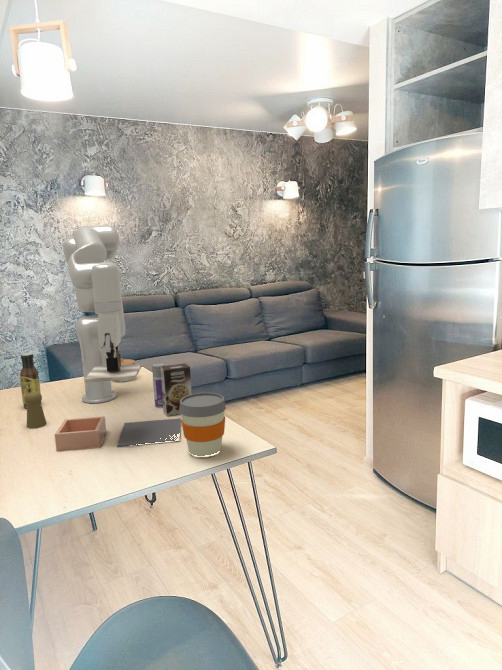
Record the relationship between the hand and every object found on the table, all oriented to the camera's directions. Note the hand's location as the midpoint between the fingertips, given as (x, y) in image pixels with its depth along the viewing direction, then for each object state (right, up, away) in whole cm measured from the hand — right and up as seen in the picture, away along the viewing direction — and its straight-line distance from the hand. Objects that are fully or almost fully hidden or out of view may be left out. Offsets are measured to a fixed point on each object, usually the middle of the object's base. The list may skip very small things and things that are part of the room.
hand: (114, 368), depth 144 cm
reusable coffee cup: (+28, -23, -8) cm, 37 cm away
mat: (+10, -20, +6) cm, 23 cm away
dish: (-10, -22, +2) cm, 24 cm away
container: (+8, -16, +31) cm, 35 cm away
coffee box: (+15, -17, +24) cm, 33 cm away
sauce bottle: (-40, -17, +35) cm, 55 cm away
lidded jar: (-14, -10, +66) cm, 68 cm away
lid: (0, -2, 0) cm, 2 cm away
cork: (-30, -20, +16) cm, 40 cm away
